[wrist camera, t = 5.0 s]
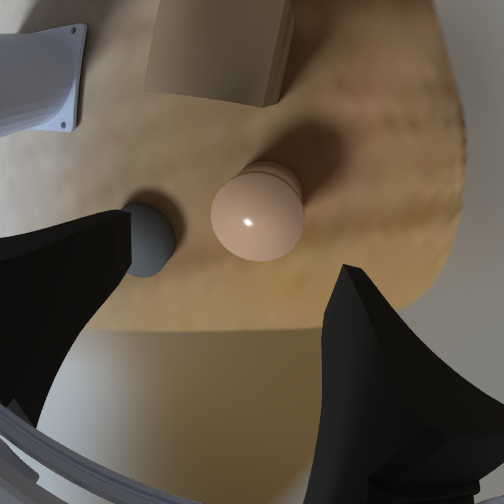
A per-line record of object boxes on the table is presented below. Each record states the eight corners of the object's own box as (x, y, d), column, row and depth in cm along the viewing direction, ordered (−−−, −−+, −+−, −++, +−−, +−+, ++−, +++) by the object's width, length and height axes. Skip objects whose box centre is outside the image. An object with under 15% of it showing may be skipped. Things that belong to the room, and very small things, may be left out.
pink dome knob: (224, 219, 20) (205, 248, 17) (236, 149, 18) (217, 164, 14) (295, 237, 20) (291, 270, 16) (314, 168, 18) (314, 187, 14)
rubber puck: (117, 255, 23) (105, 266, 22) (116, 195, 21) (102, 204, 19) (174, 271, 23) (165, 285, 22) (179, 210, 21) (168, 220, 19)
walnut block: (193, 89, 16) (143, 91, 11) (208, 11, 14) (164, -17, 9) (277, 103, 16) (262, 107, 11) (295, 22, 14) (287, -11, 8)
